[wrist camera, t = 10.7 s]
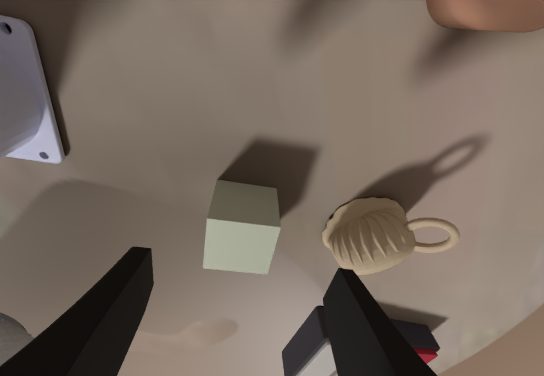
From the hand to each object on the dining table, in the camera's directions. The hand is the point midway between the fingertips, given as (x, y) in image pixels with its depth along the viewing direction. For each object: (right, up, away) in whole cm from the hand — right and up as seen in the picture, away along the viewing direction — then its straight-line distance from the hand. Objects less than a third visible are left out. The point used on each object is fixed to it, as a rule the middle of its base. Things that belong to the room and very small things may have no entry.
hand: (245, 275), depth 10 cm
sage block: (-1, +2, +10) cm, 10 cm away
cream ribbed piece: (+9, +1, +11) cm, 14 cm away
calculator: (+11, -15, +23) cm, 30 cm away
